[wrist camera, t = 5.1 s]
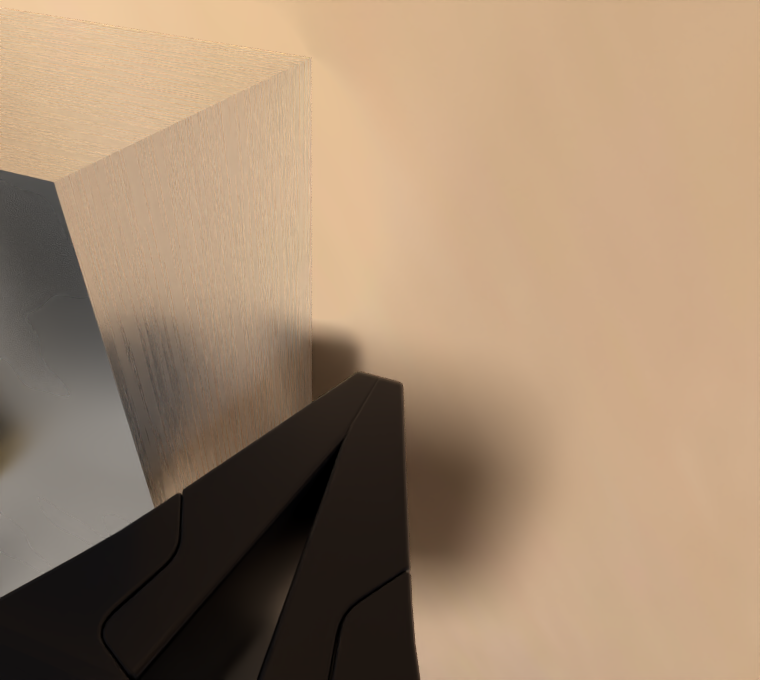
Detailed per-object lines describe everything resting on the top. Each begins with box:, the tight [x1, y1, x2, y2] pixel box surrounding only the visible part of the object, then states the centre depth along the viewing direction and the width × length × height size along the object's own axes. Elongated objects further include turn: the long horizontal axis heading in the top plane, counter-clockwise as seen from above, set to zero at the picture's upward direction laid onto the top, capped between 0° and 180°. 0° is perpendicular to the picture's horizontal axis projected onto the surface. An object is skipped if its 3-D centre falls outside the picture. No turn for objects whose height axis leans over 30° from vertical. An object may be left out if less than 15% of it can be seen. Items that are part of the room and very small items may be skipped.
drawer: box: [0, 7, 312, 597], centre depth 10 cm, size 10×9×6 cm
